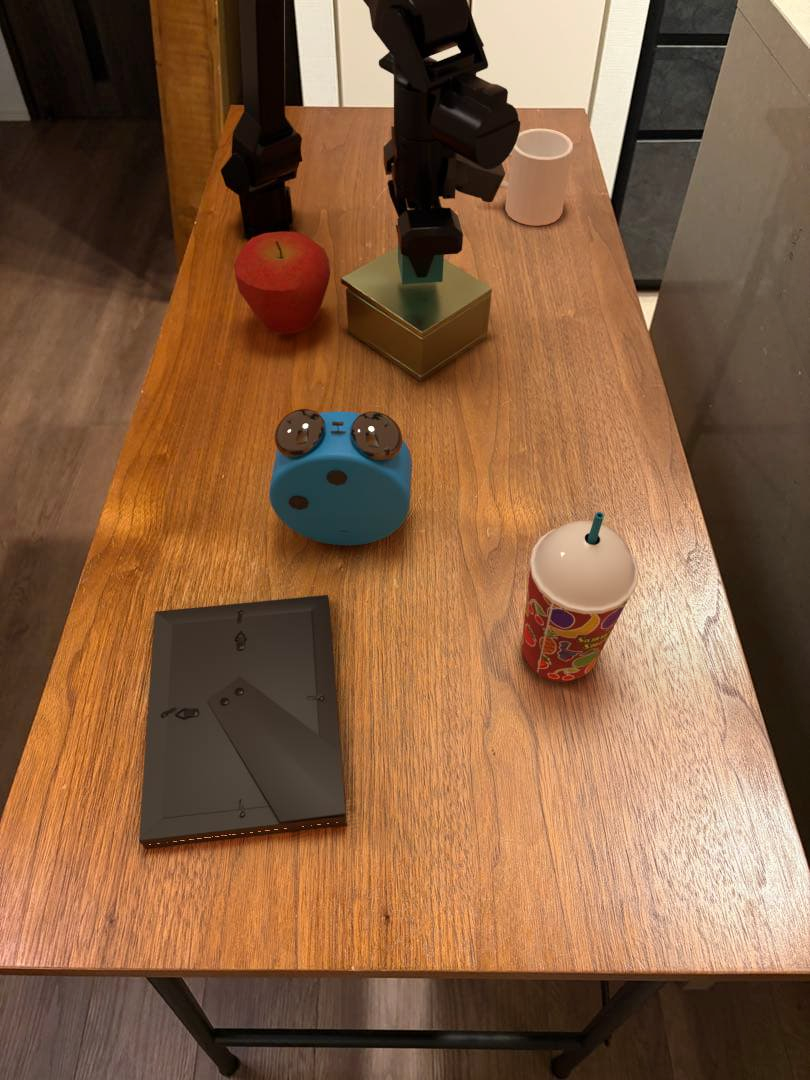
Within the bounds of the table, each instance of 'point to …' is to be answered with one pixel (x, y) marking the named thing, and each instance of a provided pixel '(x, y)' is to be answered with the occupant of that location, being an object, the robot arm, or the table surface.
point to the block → (409, 274)
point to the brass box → (409, 347)
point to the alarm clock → (341, 476)
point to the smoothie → (575, 597)
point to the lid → (415, 293)
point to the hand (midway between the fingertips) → (419, 263)
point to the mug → (538, 176)
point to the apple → (283, 279)
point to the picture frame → (242, 723)
